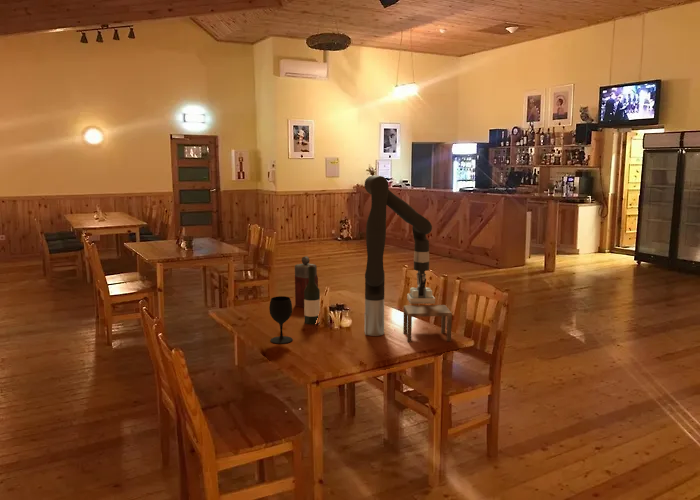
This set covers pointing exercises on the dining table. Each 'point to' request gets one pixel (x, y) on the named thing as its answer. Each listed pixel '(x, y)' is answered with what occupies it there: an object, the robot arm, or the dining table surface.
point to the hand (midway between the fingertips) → (420, 294)
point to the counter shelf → (427, 312)
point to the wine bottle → (311, 298)
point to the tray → (417, 299)
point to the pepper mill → (302, 280)
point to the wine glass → (281, 316)
